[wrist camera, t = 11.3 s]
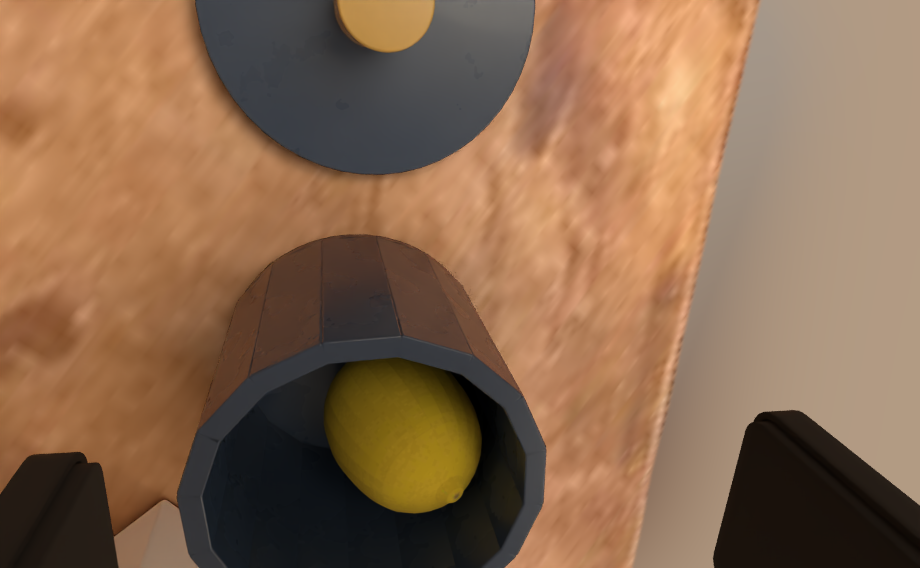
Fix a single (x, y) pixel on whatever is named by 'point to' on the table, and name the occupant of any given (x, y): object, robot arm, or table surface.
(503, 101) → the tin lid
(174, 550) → the milk carton
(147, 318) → the table surface
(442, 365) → the tin
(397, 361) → the lemon
